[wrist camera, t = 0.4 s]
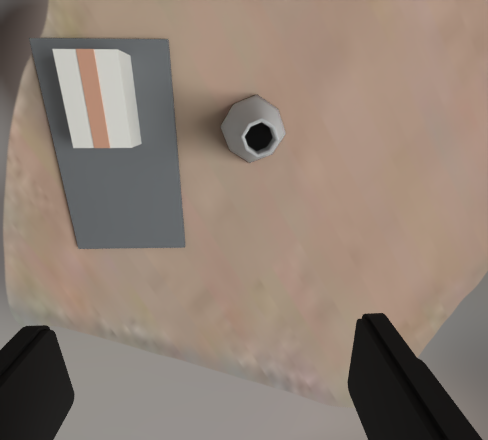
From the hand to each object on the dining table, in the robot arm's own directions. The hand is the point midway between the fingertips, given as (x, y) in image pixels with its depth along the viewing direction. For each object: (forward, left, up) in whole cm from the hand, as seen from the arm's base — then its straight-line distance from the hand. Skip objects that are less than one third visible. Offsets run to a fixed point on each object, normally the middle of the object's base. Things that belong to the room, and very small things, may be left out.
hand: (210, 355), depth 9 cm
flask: (-5, +3, -29) cm, 29 cm away
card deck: (-8, -13, -28) cm, 32 cm away
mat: (-2, -13, -28) cm, 31 cm away
